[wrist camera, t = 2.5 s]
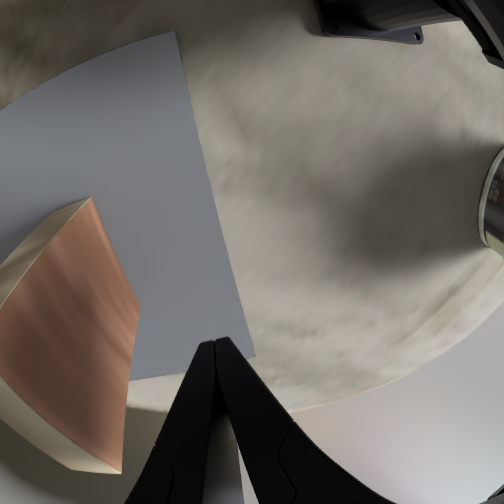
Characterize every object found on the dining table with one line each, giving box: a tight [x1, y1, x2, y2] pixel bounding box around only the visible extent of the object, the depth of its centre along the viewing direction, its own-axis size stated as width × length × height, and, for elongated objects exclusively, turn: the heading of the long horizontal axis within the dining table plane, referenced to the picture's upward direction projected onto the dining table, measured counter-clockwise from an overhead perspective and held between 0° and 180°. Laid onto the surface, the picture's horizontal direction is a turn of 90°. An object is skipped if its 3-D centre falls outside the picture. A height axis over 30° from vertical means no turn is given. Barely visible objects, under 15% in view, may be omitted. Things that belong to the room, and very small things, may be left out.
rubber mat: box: [0, 30, 256, 381], centre depth 14 cm, size 20×20×1 cm
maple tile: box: [0, 196, 141, 474], centre depth 10 cm, size 2×7×10 cm, turn 11°
